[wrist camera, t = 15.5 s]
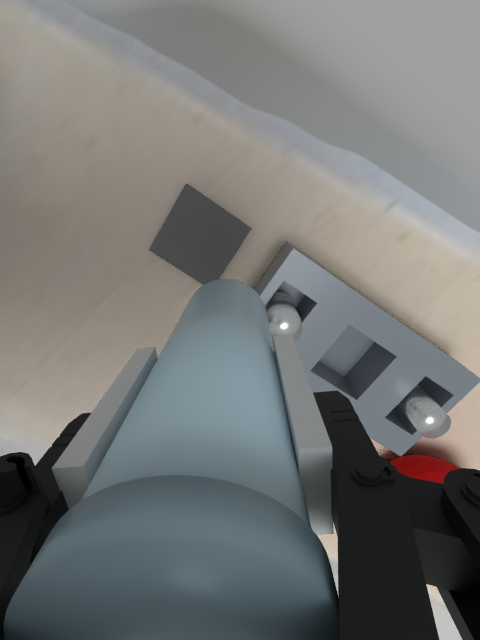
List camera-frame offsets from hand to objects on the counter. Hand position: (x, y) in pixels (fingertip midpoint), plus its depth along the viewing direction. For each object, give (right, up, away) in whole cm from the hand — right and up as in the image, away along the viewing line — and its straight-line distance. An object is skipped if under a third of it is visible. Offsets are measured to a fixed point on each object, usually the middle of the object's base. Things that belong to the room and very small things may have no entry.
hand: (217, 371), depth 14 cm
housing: (+13, 0, +25) cm, 28 cm away
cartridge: (0, +2, +6) cm, 7 cm away
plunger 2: (+20, -6, +24) cm, 32 cm away
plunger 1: (+5, +4, +22) cm, 23 cm away
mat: (-3, +11, +22) cm, 25 cm away
